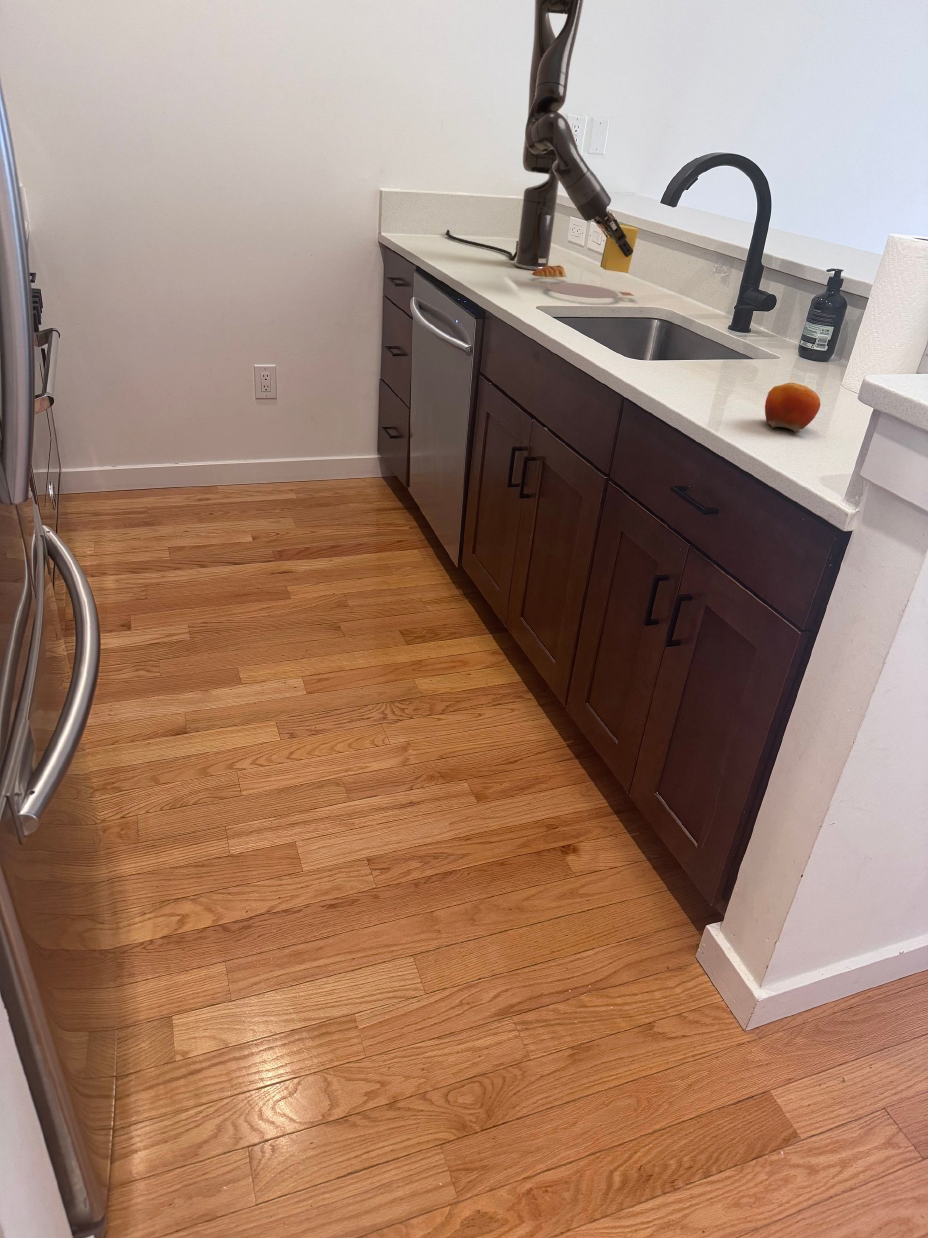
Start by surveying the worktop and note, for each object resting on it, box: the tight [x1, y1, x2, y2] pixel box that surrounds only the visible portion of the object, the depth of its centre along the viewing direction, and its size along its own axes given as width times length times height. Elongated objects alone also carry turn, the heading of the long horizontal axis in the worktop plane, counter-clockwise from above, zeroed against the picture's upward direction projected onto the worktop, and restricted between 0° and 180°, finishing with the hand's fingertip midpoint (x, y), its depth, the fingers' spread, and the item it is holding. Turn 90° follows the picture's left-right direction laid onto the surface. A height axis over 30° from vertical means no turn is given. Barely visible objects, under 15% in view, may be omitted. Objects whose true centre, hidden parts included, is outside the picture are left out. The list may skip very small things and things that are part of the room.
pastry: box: [532, 264, 567, 278], centre depth 233 cm, size 9×7×4 cm
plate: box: [545, 282, 619, 299], centre depth 218 cm, size 18×18×2 cm
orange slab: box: [619, 291, 635, 297], centre depth 220 cm, size 4×3×2 cm
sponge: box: [599, 224, 639, 274], centre depth 214 cm, size 4×6×10 cm
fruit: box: [764, 382, 821, 436], centre depth 136 cm, size 8×8×8 cm
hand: (626, 252), depth 215 cm, fingers closed on sponge, 4 cm apart
